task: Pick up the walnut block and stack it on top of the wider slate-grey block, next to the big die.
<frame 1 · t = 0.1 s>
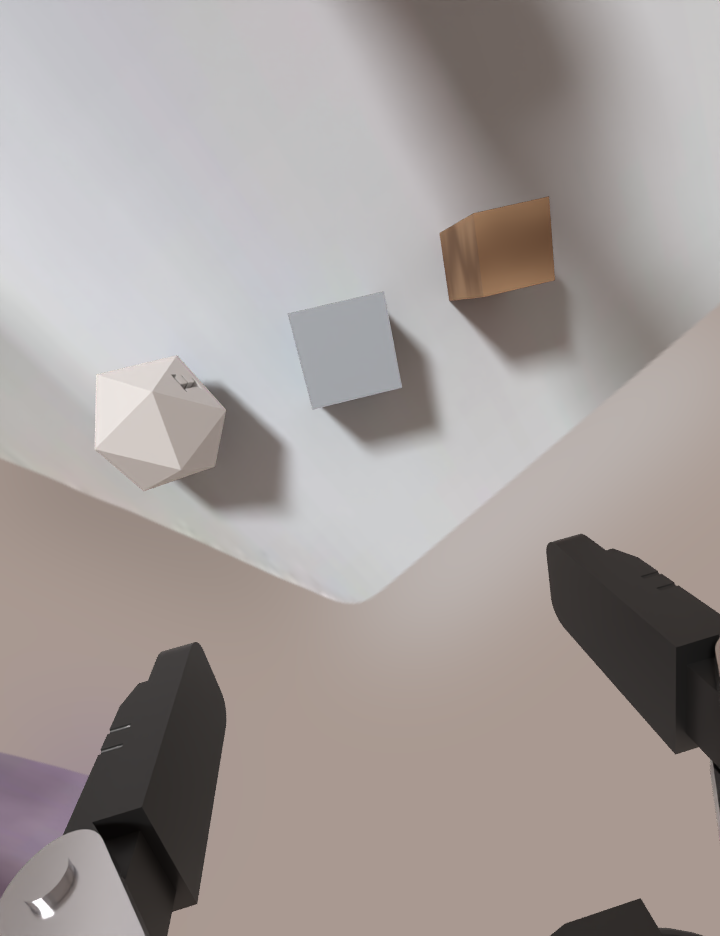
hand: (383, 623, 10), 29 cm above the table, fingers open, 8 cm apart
walnut block: (474, 260, 36), on the table
grey block: (338, 347, 37), on the table
die: (174, 412, 37), on the table
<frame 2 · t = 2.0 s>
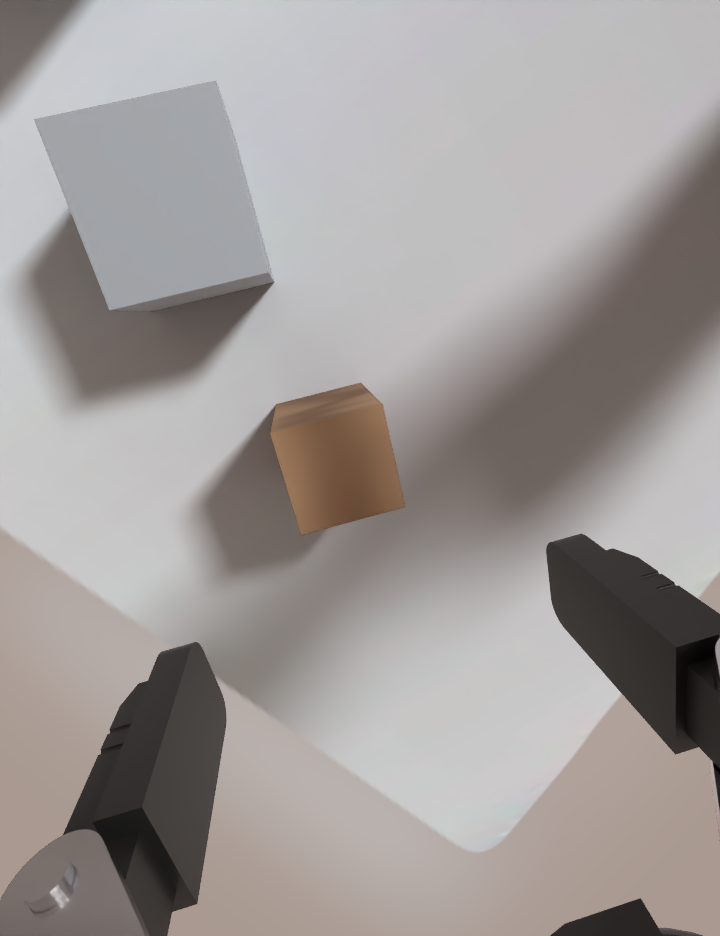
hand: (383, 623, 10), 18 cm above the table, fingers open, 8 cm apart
walnut block: (329, 434, 27), on the table
grey block: (192, 229, 23), on the table
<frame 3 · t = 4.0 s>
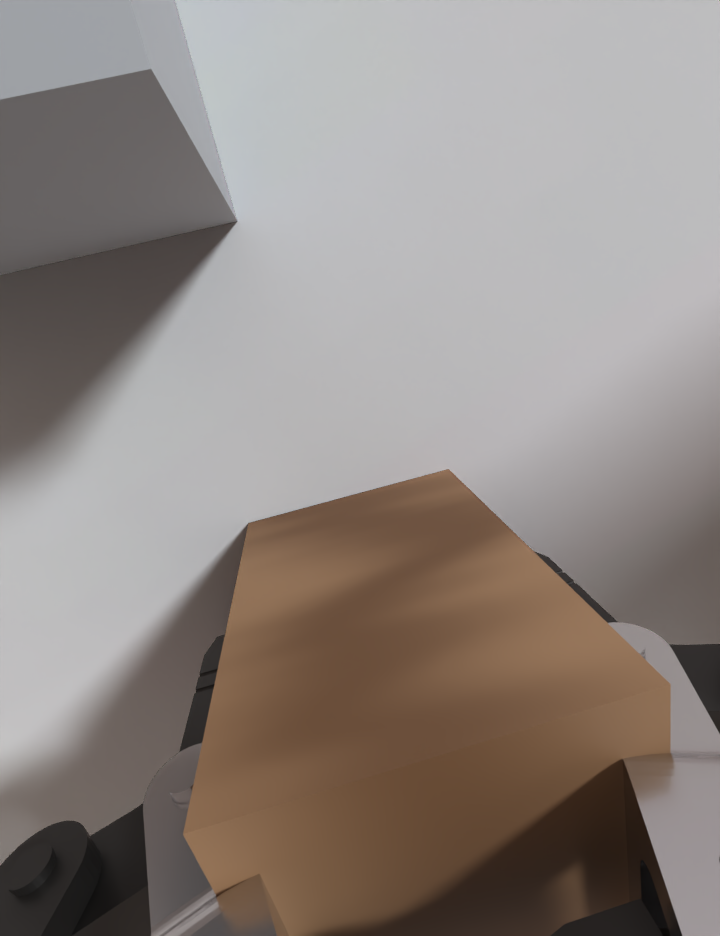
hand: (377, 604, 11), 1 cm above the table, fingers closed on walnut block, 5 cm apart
walnut block: (372, 582, 12), on the table, touching gripper
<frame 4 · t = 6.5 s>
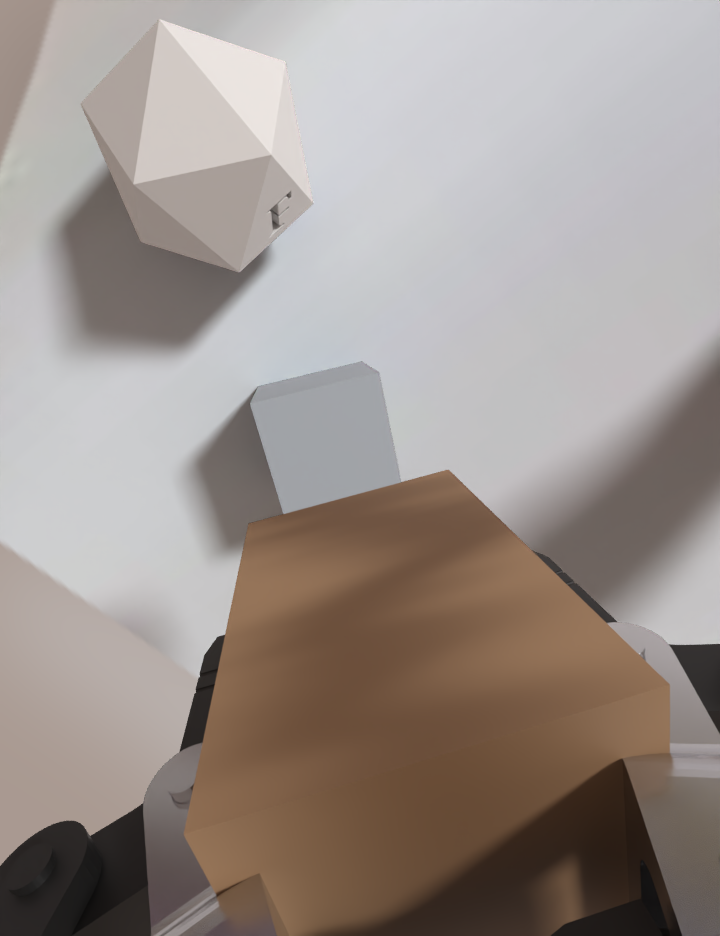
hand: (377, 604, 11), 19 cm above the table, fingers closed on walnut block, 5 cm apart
walnut block: (372, 582, 12), point 18 cm above the table, touching gripper
grey block: (323, 424, 29), on the table
die: (221, 183, 25), on the table
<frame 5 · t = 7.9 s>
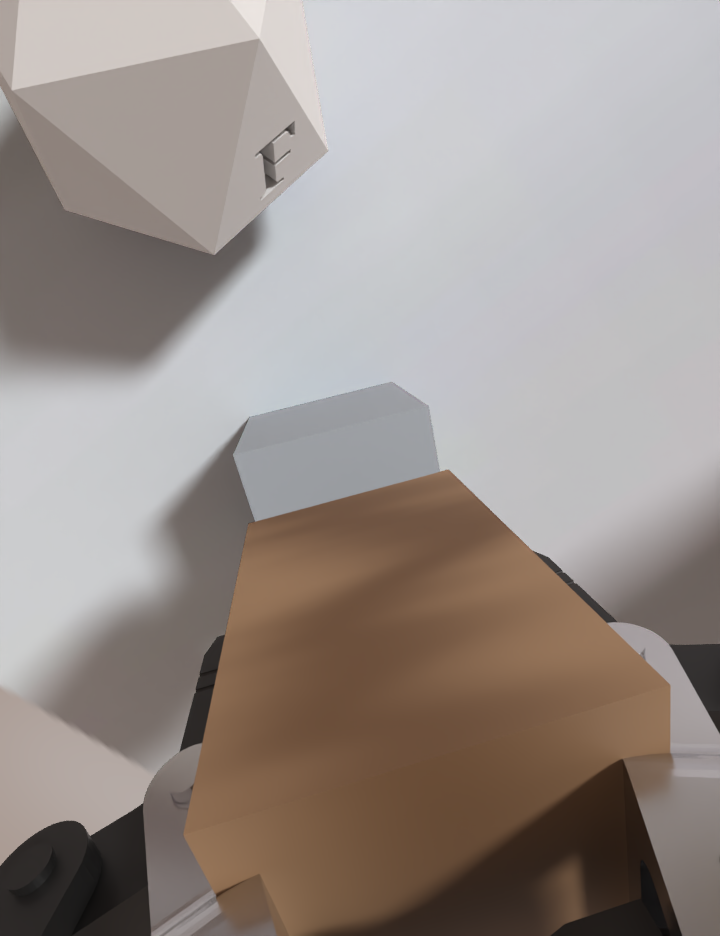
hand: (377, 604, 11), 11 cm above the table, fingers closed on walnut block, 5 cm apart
walnut block: (372, 582, 12), point 10 cm above the table, touching gripper
grey block: (338, 465, 22), on the table
die: (193, 129, 17), on the table
when the fingers open (8 cm above the table, at t = 9.0 s): walnut block stays where it is, resting on grey block.
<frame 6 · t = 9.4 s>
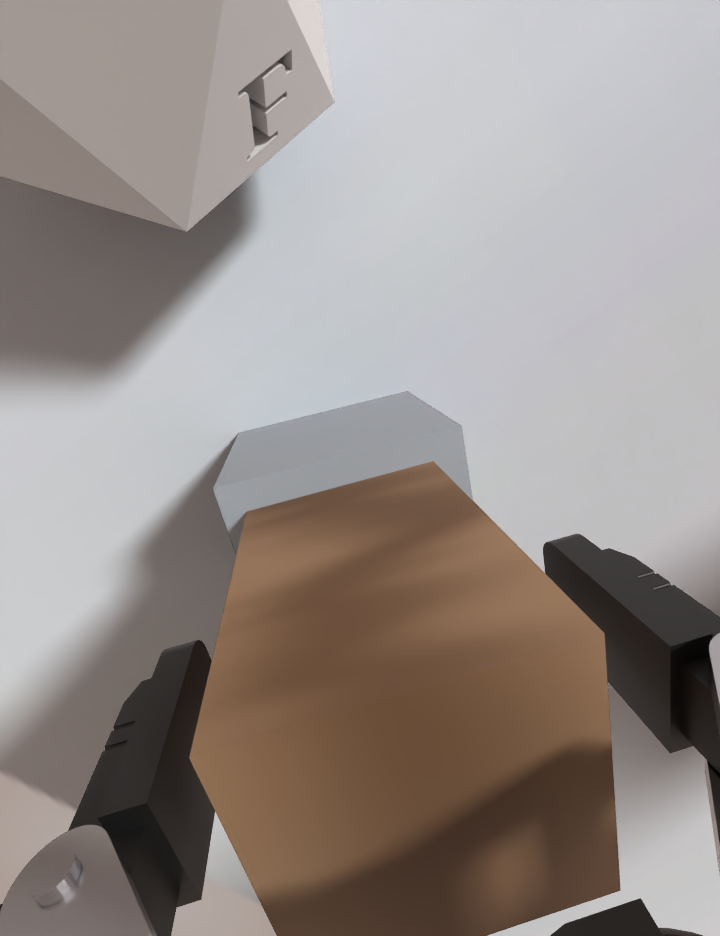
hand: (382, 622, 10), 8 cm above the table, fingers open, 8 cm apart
walnut block: (362, 567, 13), point 6 cm above the table, touching grey block
grey block: (343, 489, 18), on the table, touching walnut block
die: (166, 82, 14), on the table
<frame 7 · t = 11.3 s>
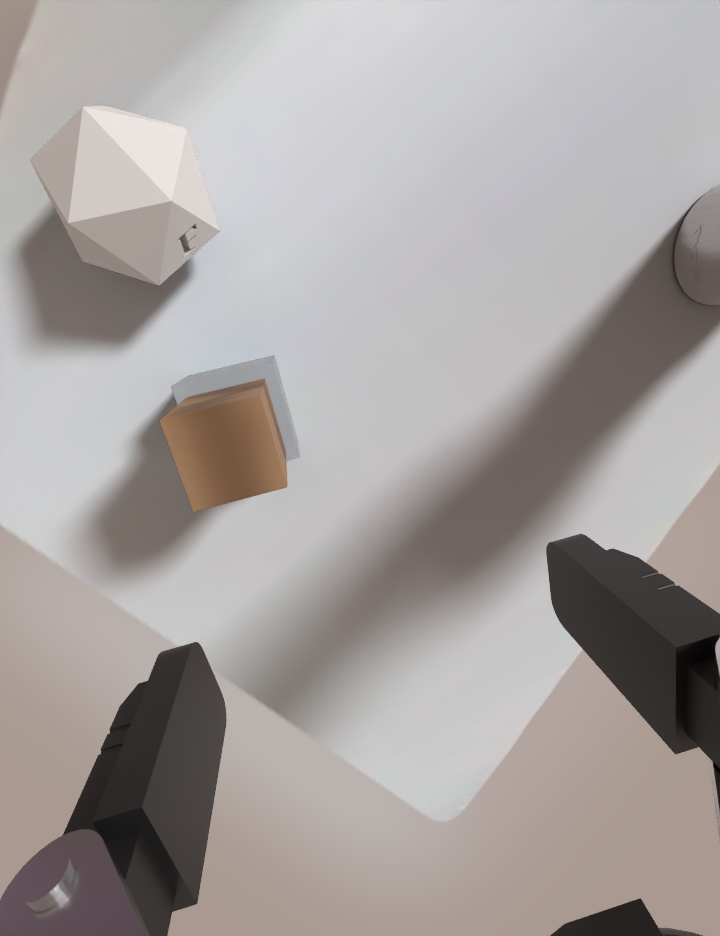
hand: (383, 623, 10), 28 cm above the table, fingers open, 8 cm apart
walnut block: (238, 425, 30), point 6 cm above the table
grey block: (244, 407, 35), on the table
die: (150, 213, 31), on the table
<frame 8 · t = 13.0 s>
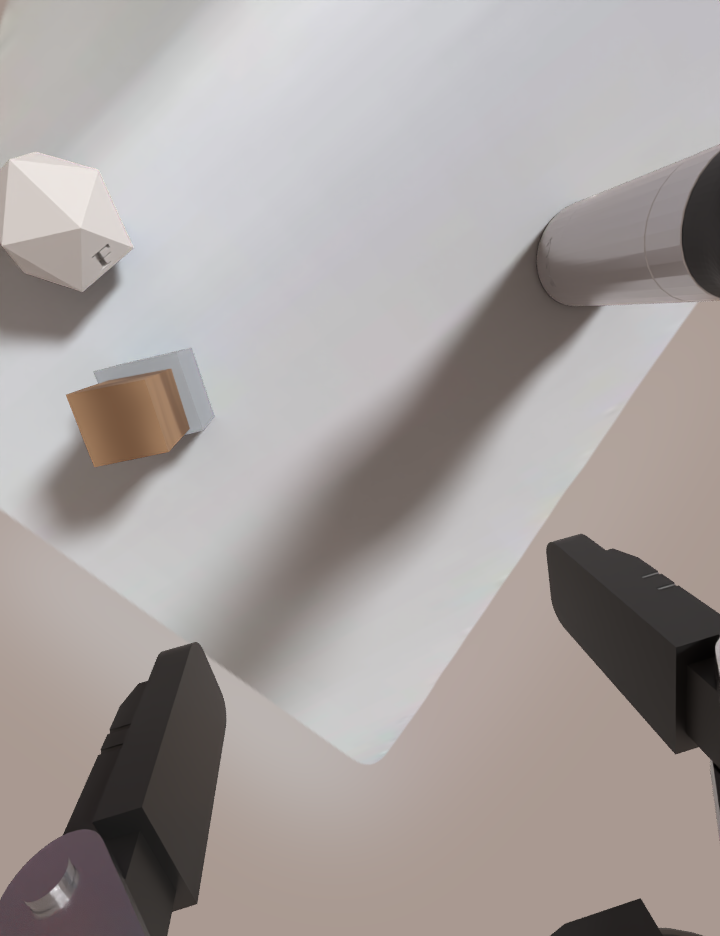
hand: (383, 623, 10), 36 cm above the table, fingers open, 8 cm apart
walnut block: (149, 405, 37), point 6 cm above the table, touching grey block
grey block: (169, 390, 43), on the table, touching walnut block
die: (83, 233, 38), on the table
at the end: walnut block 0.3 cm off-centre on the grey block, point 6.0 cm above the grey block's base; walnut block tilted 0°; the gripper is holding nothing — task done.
